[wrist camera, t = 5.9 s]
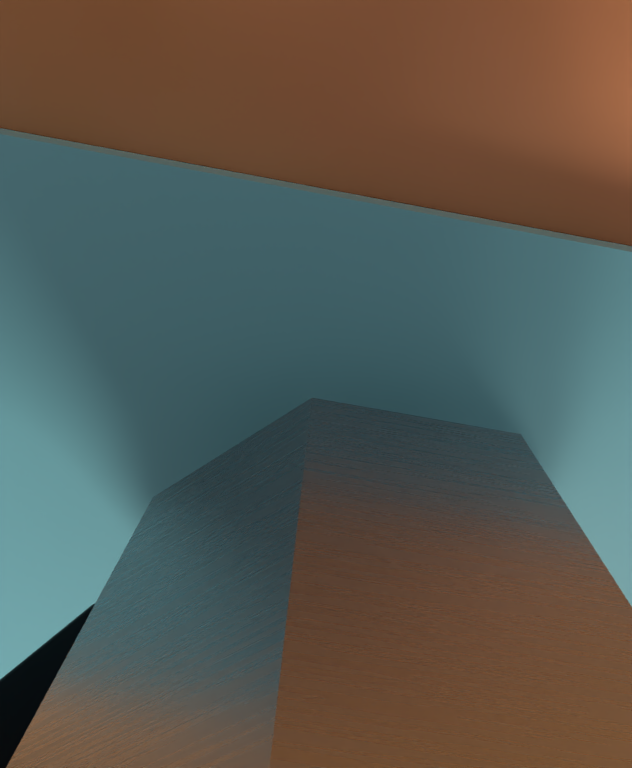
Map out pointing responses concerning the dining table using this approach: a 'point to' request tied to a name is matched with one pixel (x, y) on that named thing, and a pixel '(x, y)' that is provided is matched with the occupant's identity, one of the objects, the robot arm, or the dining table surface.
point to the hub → (350, 613)
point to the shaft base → (271, 347)
